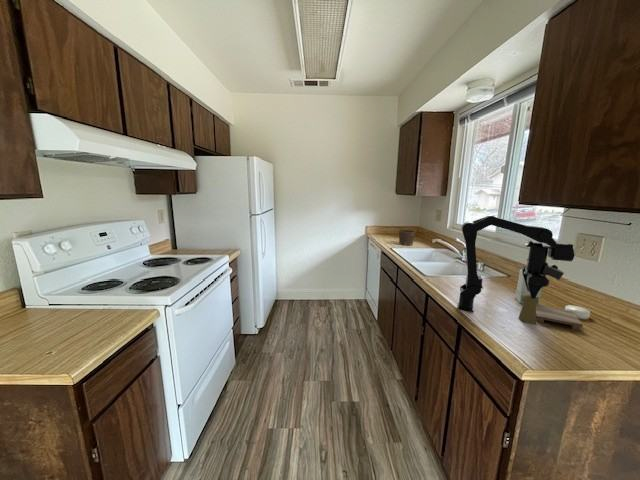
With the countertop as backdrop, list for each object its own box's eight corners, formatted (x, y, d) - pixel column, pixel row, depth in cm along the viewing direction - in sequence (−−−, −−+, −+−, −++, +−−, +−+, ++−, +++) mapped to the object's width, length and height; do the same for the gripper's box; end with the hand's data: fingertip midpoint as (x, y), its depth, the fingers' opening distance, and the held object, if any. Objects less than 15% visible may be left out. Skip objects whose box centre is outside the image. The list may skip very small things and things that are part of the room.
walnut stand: (581, 331, 103) (582, 324, 102) (536, 322, 110) (537, 315, 109) (570, 317, 115) (572, 311, 114) (530, 310, 122) (531, 304, 121)
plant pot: (412, 245, 269) (413, 230, 267) (416, 248, 254) (417, 232, 251) (396, 245, 271) (397, 229, 269) (398, 248, 256) (399, 231, 253)
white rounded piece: (591, 321, 112) (593, 314, 112) (567, 316, 116) (568, 310, 116) (585, 314, 119) (586, 307, 119) (562, 309, 123) (563, 303, 123)
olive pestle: (530, 325, 108) (535, 300, 106) (515, 318, 113) (518, 294, 111) (539, 322, 110) (543, 297, 108) (523, 316, 115) (527, 292, 113)
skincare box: (518, 303, 130) (523, 272, 127) (514, 298, 136) (518, 269, 133) (539, 305, 127) (545, 274, 124) (534, 300, 133) (539, 271, 130)
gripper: (570, 266, 95) (562, 307, 98) (557, 256, 111) (550, 291, 113) (531, 262, 100) (525, 300, 103) (524, 253, 116) (518, 286, 119)
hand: (531, 294), depth 110 cm, fingers open, 9 cm apart
